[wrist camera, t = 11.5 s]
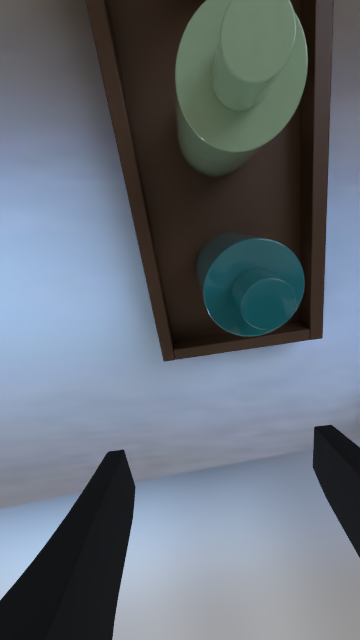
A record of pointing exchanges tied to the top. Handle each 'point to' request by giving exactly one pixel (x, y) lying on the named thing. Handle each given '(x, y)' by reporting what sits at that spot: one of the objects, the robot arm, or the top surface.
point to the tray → (205, 191)
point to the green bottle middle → (237, 80)
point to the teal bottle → (249, 282)
